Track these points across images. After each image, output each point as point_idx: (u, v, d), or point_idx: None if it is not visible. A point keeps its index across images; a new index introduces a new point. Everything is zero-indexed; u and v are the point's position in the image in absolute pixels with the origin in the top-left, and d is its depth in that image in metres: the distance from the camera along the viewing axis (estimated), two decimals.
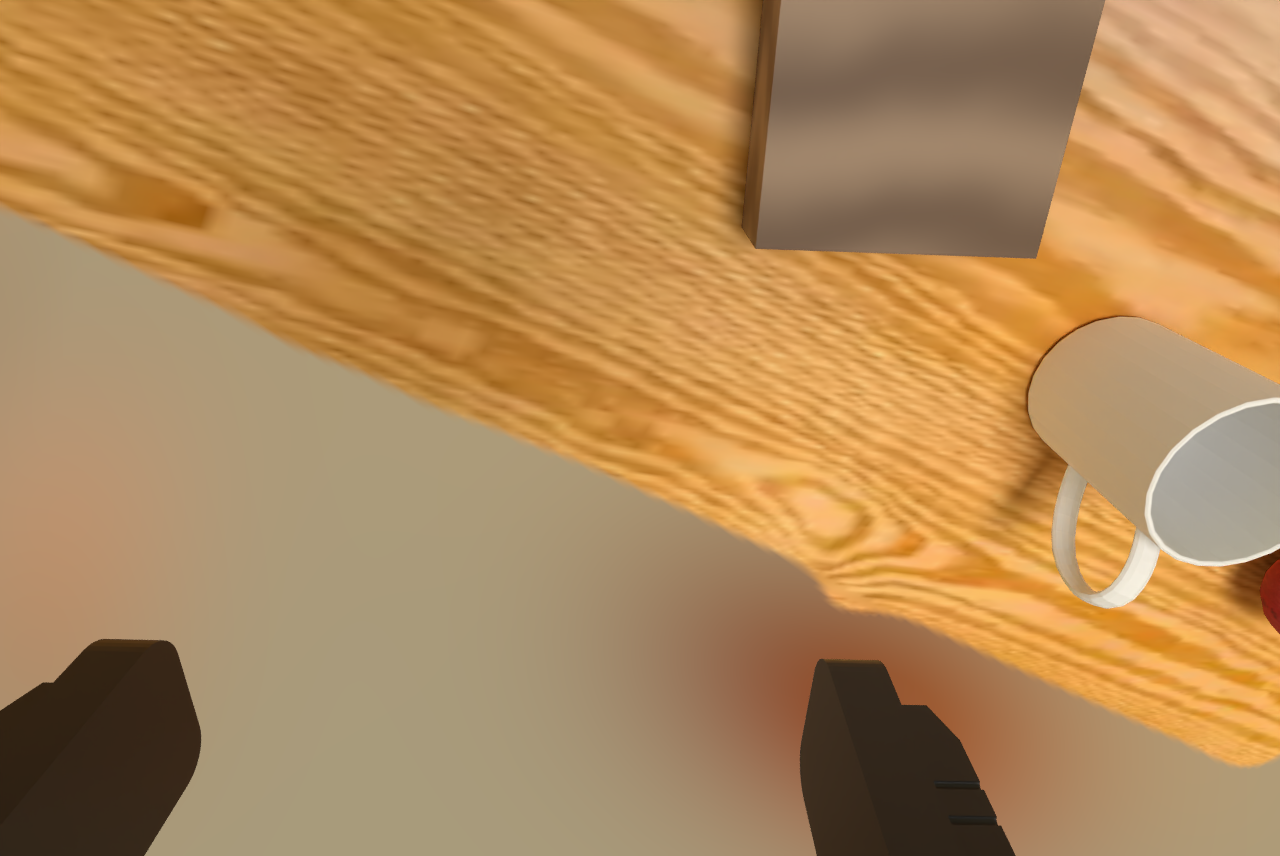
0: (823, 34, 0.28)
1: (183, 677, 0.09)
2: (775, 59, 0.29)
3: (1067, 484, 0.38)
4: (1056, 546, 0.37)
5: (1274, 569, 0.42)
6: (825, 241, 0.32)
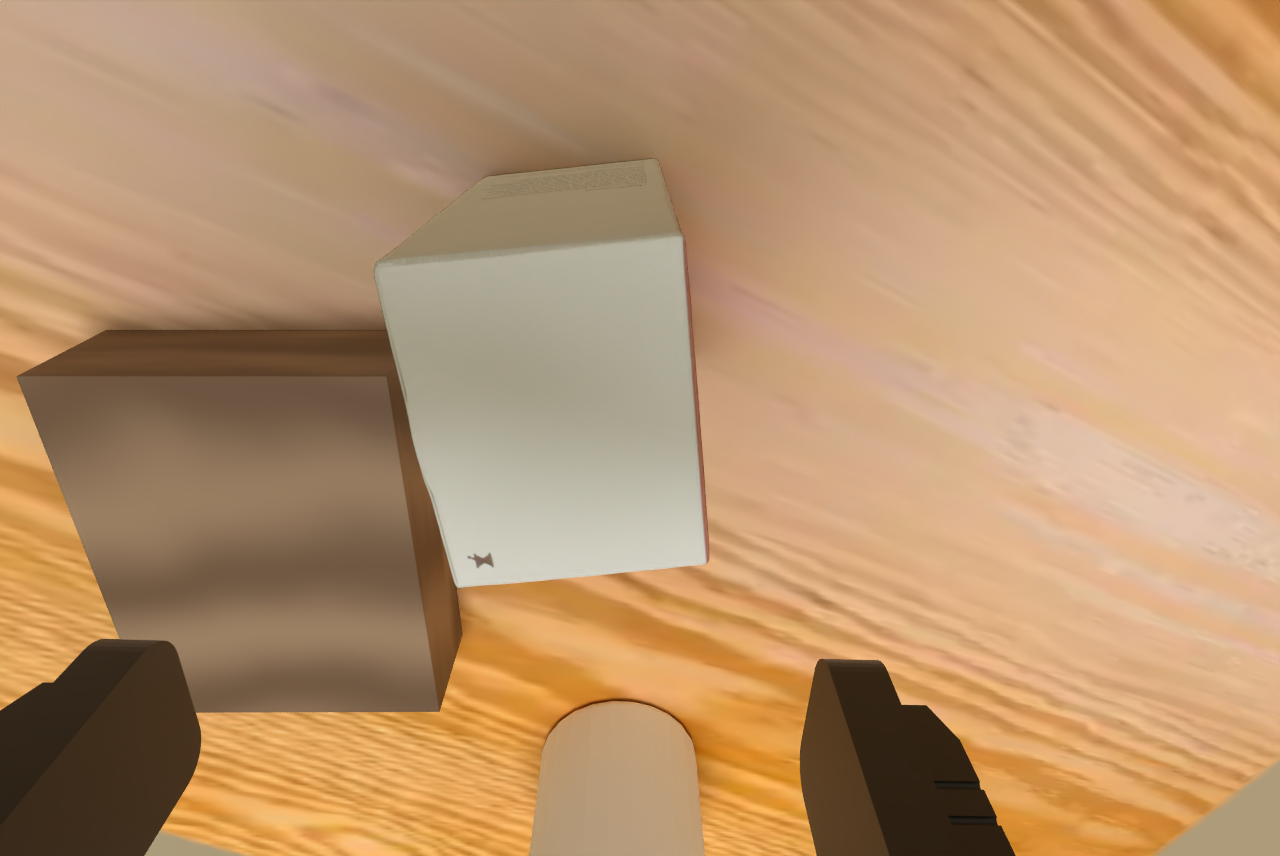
0: (132, 551, 0.27)
1: (183, 677, 0.09)
2: (94, 570, 0.28)
3: None
4: None
5: None
6: (217, 705, 0.31)
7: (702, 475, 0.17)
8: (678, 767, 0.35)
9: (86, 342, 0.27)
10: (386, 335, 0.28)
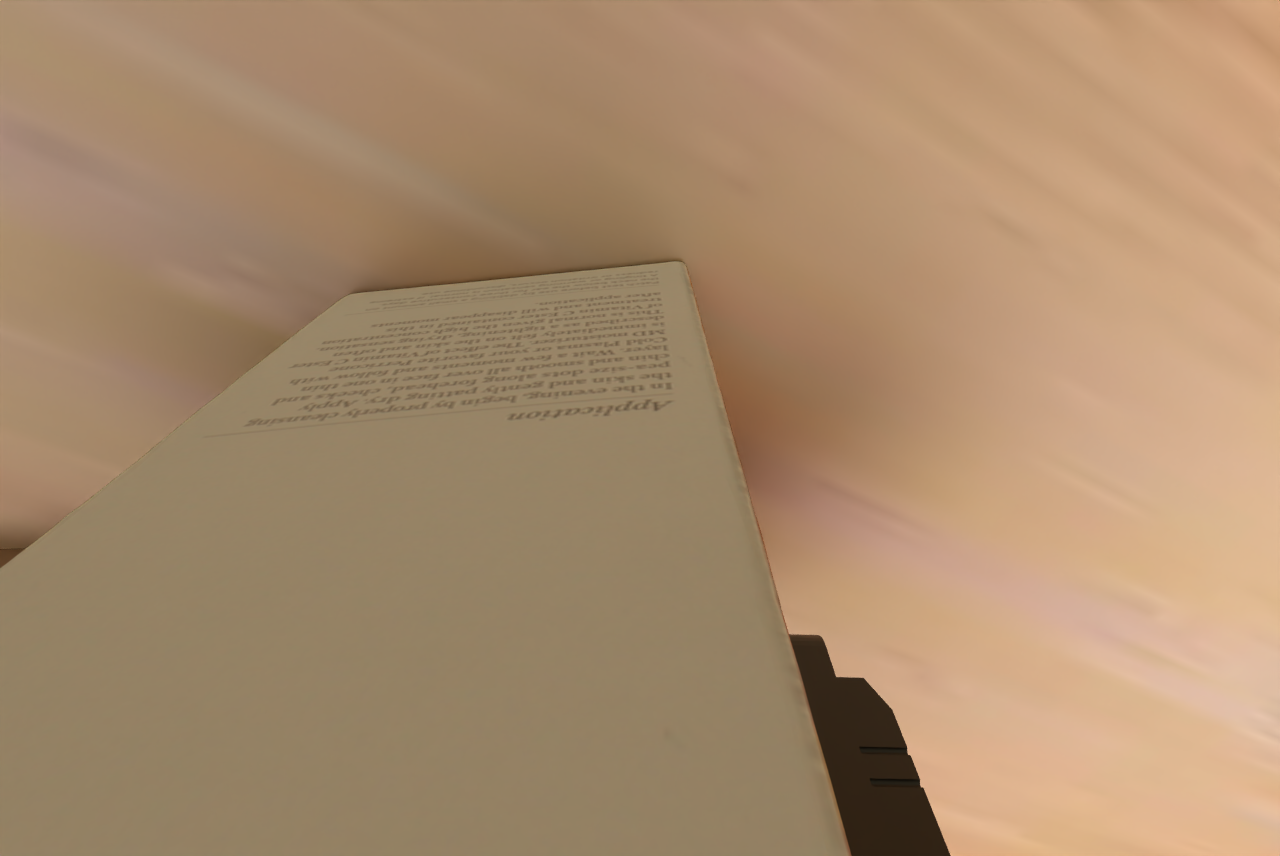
0: None
1: None
2: None
3: None
4: None
5: None
6: None
7: None
8: None
9: None
10: None
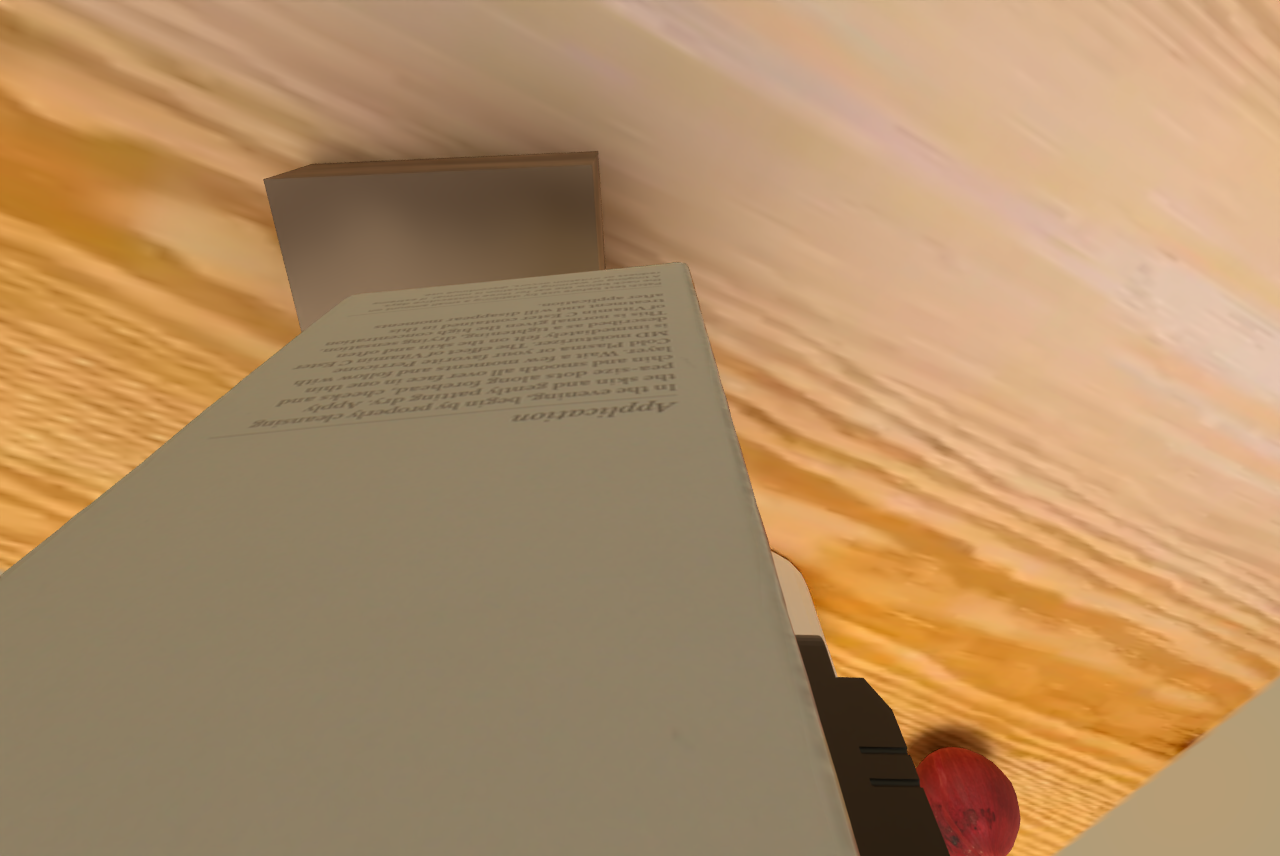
0: None
1: None
2: None
3: None
4: None
5: (920, 765, 0.45)
6: None
7: None
8: (805, 599, 0.38)
9: (303, 167, 0.30)
10: (568, 154, 0.31)
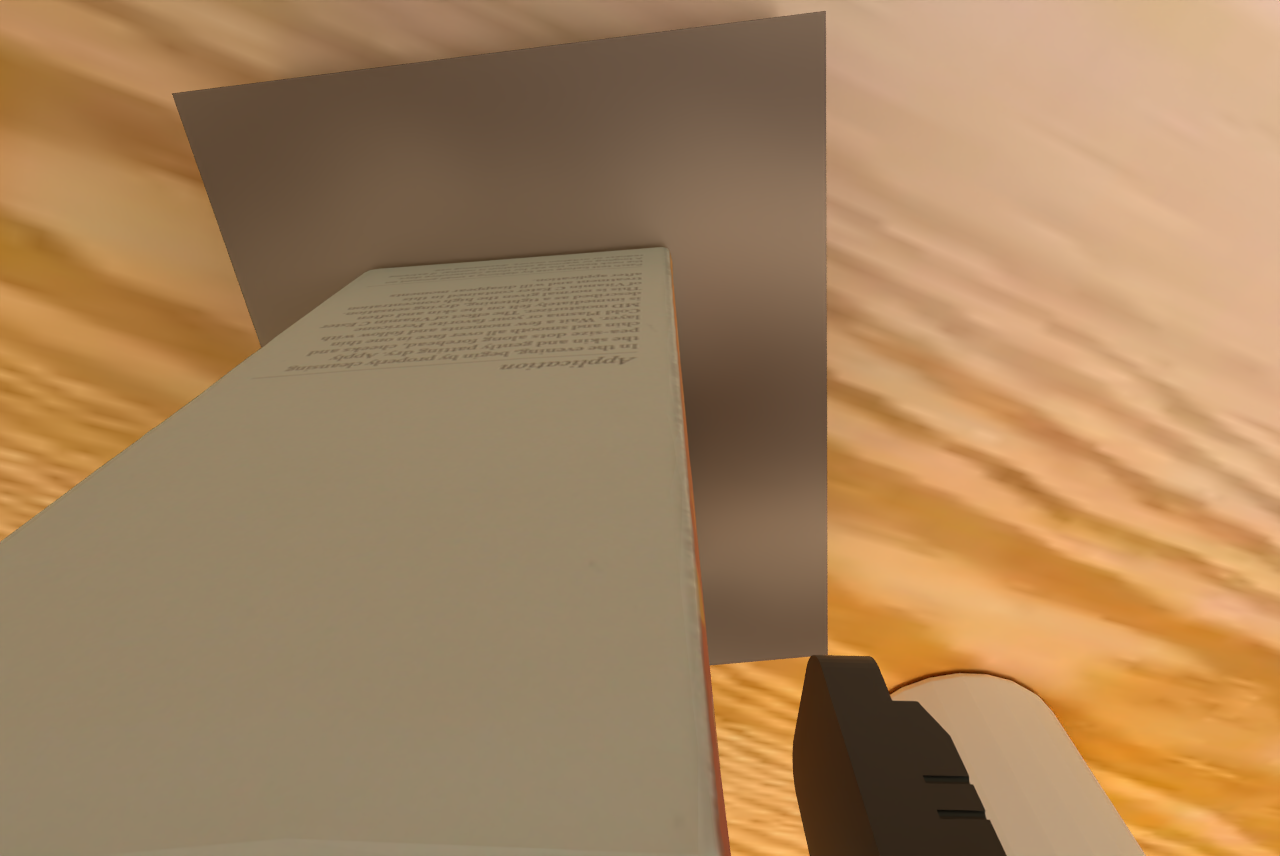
0: None
1: None
2: None
3: None
4: None
5: None
6: None
7: None
8: (1086, 768, 0.24)
9: None
10: None
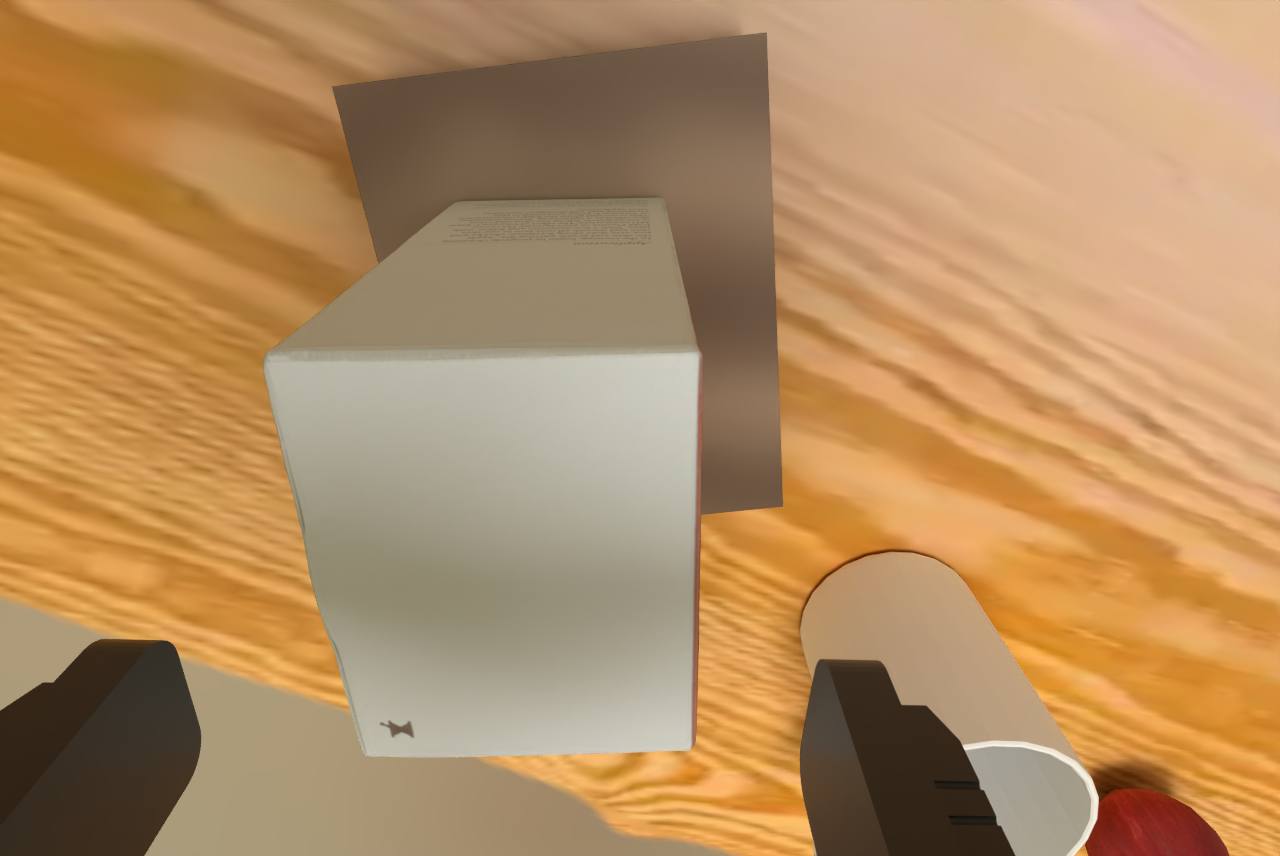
0: None
1: (183, 677, 0.09)
2: None
3: None
4: None
5: (1099, 812, 0.37)
6: None
7: (696, 647, 0.13)
8: (985, 617, 0.31)
9: None
10: None
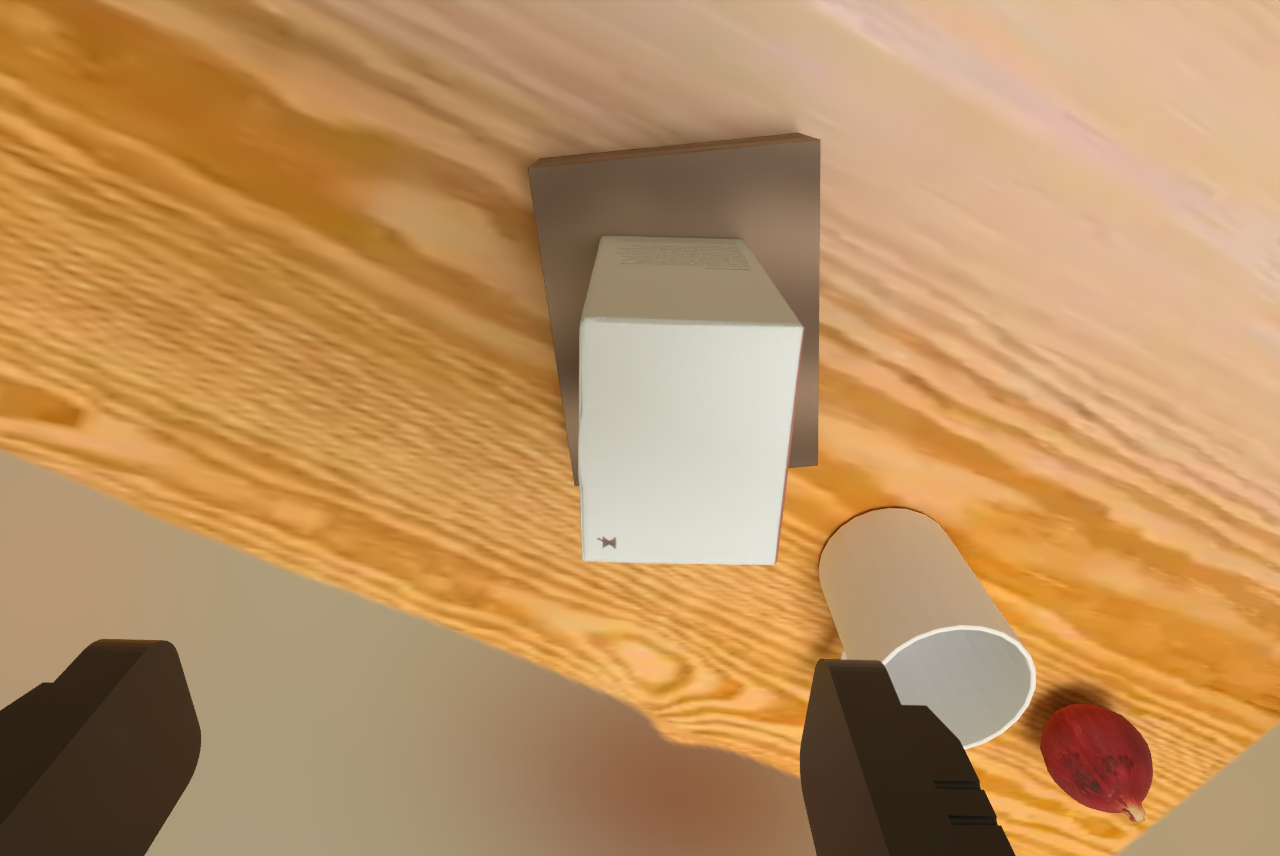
0: None
1: (183, 677, 0.09)
2: (555, 348, 0.34)
3: None
4: None
5: (1050, 720, 0.47)
6: None
7: (784, 497, 0.23)
8: (960, 554, 0.41)
9: (540, 160, 0.34)
10: (773, 136, 0.34)
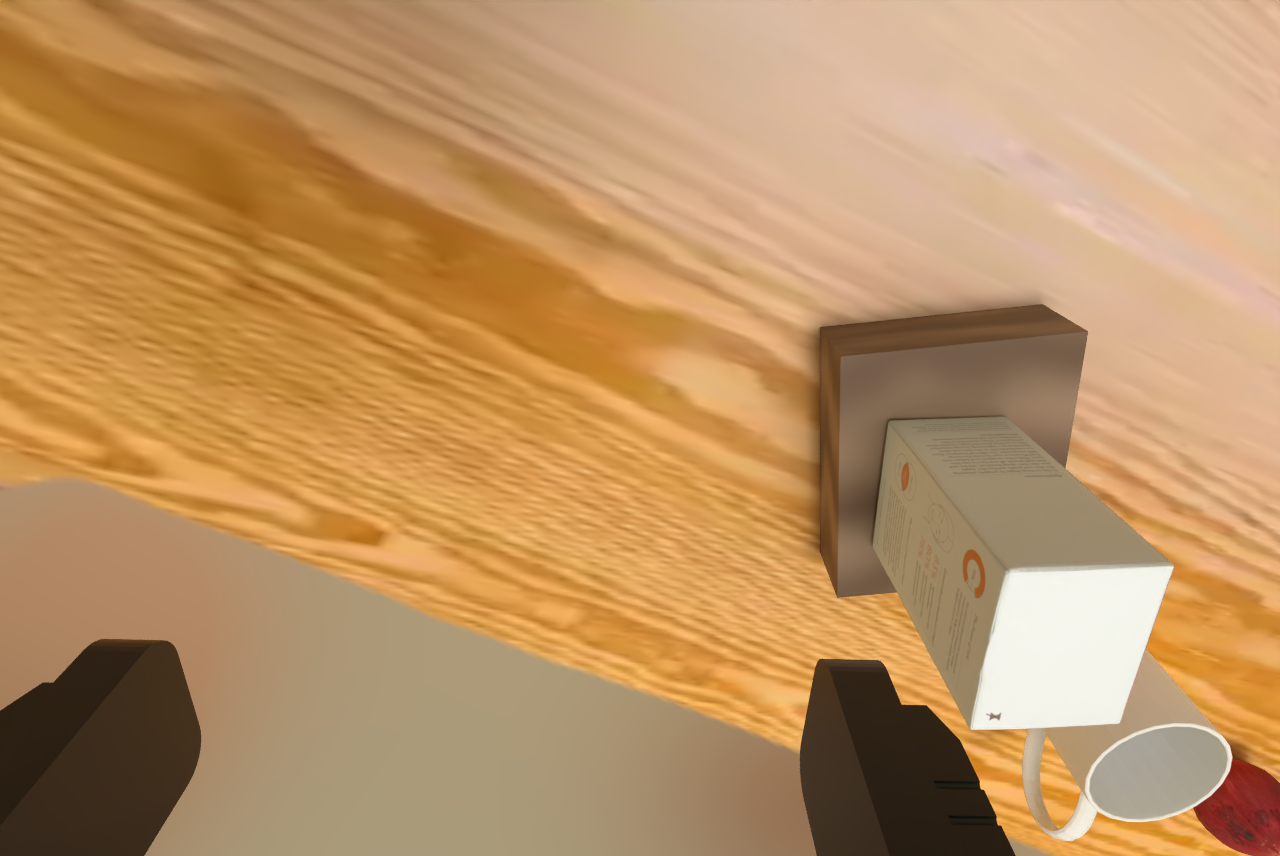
0: (871, 474, 0.40)
1: (183, 677, 0.09)
2: (839, 491, 0.40)
3: None
4: (1025, 778, 0.49)
5: None
6: (888, 587, 0.43)
7: (1135, 677, 0.29)
8: None
9: (828, 334, 0.40)
10: (1023, 309, 0.40)
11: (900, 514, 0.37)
